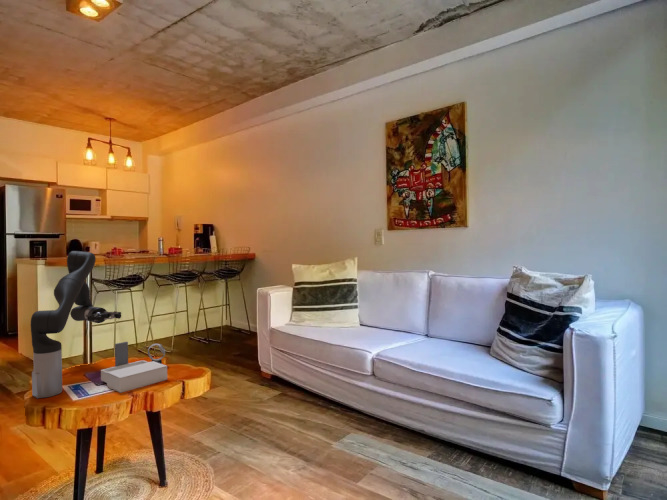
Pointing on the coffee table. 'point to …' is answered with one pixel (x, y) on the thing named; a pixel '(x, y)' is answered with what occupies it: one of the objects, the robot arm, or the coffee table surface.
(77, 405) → the coffee table surface
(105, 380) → the dark grey upright bracket
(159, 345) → the watch
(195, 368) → the coffee table surface
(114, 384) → the light grey rectangular box
